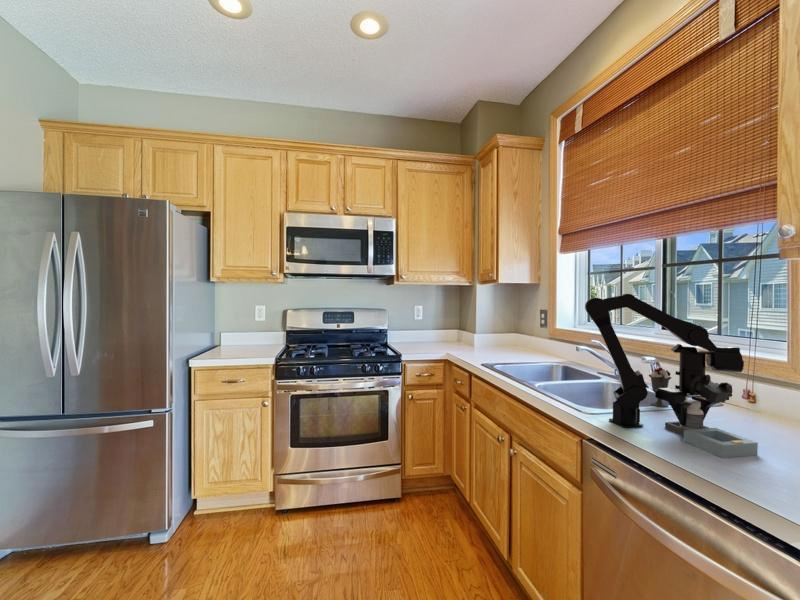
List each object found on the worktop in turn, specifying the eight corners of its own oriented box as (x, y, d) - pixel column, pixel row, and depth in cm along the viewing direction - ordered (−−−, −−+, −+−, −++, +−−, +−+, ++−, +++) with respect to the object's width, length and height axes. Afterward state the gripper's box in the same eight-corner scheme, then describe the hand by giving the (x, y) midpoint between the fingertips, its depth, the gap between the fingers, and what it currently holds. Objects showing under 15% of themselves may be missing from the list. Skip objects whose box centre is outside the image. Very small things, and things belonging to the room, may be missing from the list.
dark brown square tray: (692, 439, 98) (693, 433, 98) (665, 427, 107) (665, 422, 106) (718, 437, 100) (719, 431, 100) (689, 425, 108) (689, 420, 108)
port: (723, 458, 87) (723, 444, 87) (683, 441, 97) (683, 428, 97) (757, 454, 89) (757, 441, 89) (715, 438, 99) (715, 426, 98)
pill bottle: (707, 436, 100) (708, 404, 100) (685, 435, 101) (686, 403, 101) (696, 429, 105) (696, 398, 105) (675, 428, 106) (676, 397, 106)
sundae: (648, 406, 127) (648, 362, 127) (647, 401, 133) (648, 360, 132) (671, 409, 123) (672, 365, 123) (670, 404, 129) (671, 362, 129)
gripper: (691, 376, 93) (690, 437, 93) (751, 374, 97) (750, 433, 97) (654, 368, 104) (653, 422, 104) (708, 365, 107) (707, 418, 108)
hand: (691, 424), depth 103 cm, fingers closed on pill bottle, 5 cm apart
